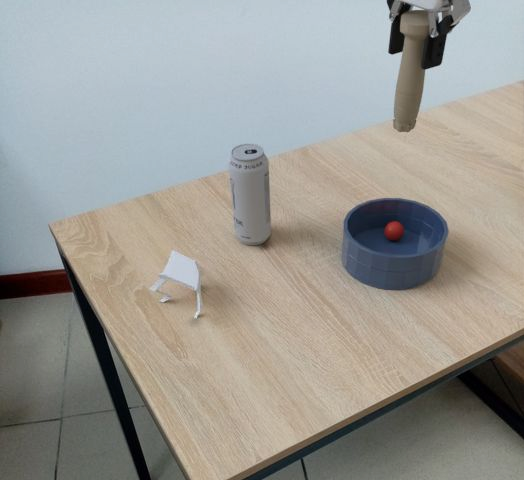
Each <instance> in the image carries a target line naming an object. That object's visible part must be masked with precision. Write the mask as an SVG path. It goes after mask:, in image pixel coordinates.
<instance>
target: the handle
mask: <svg viewBox="0 0 524 480" xmlns="http://www.w3.org/2000/svg"><path fill="white" fill-rule="evenodd" d="M438 20H439V21H440V15H438ZM400 32H401V33H403V34H404V35H405V40H404V47H403V52H401V58H400V64H399V68H398V75H397V80H396V85H395V93H394V101H393V102H394V103H393V119H392V128H393V129H394V130H396V131H397V132H398V133H410V132H411V130H414V129H415V128H416V124H417V119H418V115H419V112H420V108H421V104H422V98H423V93H424V86H425V77H426V76H425V75H426V70H424V69H422V68H421V61H422V55H423V49H424V42H425V38H426V36H429V35H430V31H429V19H428V11H427V10H424V9H412V10H411V11H407V12H405V13H404V14H402V16H401V22H400Z"/></svg>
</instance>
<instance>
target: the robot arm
mask: <svg viewBox="0 0 524 480" xmlns="http://www.w3.org/2000/svg"><path fill="white" fill-rule="evenodd" d="M386 4H387V7H388V10H389V14H388V19H389V21H390V22H391V25H390V34H389V42H388V50H387V52H388V54H389V55H391V56H393V55H397V54H399V53H402V52H403V47H404V40H405V35H404V34H403V33H401V32H400V22H401V16H402V14H404V13H405V12H407V11H411V10H414V7H415V8H419V9H420V10H427V11H428V19H429V31H430V35H429V36H426V38H425V42H424V49H423V55H422V61H421V68H422V69H424V70H425V71H426V70H430V69H433V68H436V67H439V66H441V65H442V63H443V59H444V53H445V49H446V42H447V38H448V35H449V34H451V33H452V32H453V29H454V28H455V27H456V26H457V25H459V23H460V21H462V20H463V19H464V18H465V17H466V16H467V15H468V14H469V13H470V12H471V10H472V7H471V3H470V1H469V0H386ZM439 13H441V20H440V19H439V20H438V16H439Z"/></svg>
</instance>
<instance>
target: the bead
mask: <svg viewBox="0 0 524 480" xmlns="http://www.w3.org/2000/svg"><path fill="white" fill-rule="evenodd" d="M403 234H404V228H403V226H402V224H401V223H399V222H390V223H389V224H388V225H387V226H386V227H385V236H386V237H387V238H388V239H389V240H391V241H396V240H399V239H400V238H401V237H402V236H403Z"/></svg>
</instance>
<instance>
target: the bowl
mask: <svg viewBox="0 0 524 480" xmlns="http://www.w3.org/2000/svg"><path fill="white" fill-rule="evenodd" d="M342 222H343V223H342V234H341V235H342V236H341V253H340V261H341V264H342V266H343V268H344V269H345V271H346V272H347V273H348V274H349V275H350V276H351V277H352V278H354V279H355V280H357V281H358V282H360V283H362V284H364V285H367V286H369V287H372V288H376V289H382V290H389V291H390V290H391V291H402V290H410V289H415V288H418V287H420V286H422V285H425V284H426V283H428V282H430V281H431V280H432V279H433V278H434V277H435V276H436V275H437V274H438V272H439V270H440V267H441V264H442V260H443V257H444V253H445V248H446V246H447V245H446V244H447V241H448V236H449V234H450V233H449V232H450V231H449V227H448V223H447V220H446V219H445V218H444V217H443V215H442V214H441V213H440V212H438V211H437V210H435V209H434V208H432V207H431V206H429V205H427V204H424V203H422V202H419V201H417V200H412V199H407V198H401V197H381V198H375V199H370V200H367V201H364V202H361V203H359V204H357V205H355V207H353V208H352V209H350V210H349V211H348V212H347V214H346V215H345V217H344V219H343V221H342ZM390 222H399V223H401V224H402V226H403V228H404V234H403V236H402V237H401V238H400V239H399V240H396V241H391V240H389V239H388V238H387V237H386V236H385V227H386V226H387V225H388V224H389V223H390Z"/></svg>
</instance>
